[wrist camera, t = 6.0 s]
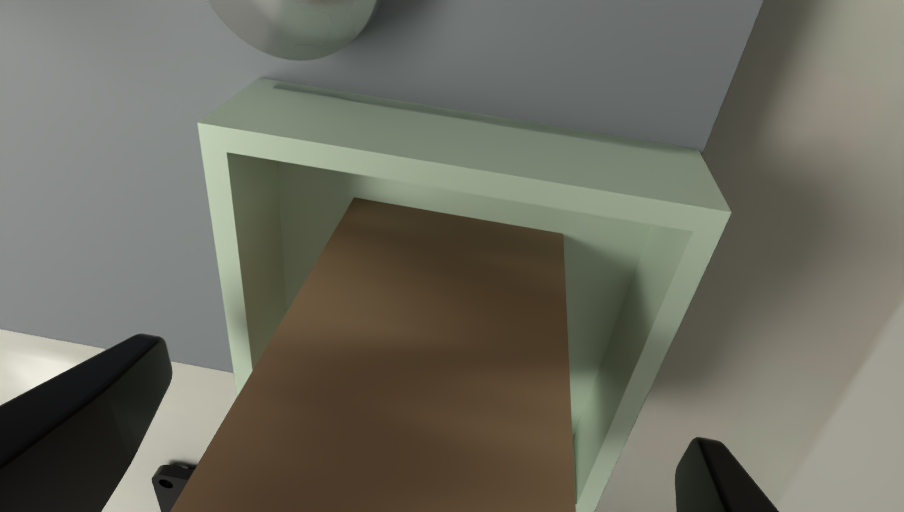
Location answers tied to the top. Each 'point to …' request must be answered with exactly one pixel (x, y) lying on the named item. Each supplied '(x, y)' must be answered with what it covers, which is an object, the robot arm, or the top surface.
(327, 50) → the crank
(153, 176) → the plate
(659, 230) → the tray
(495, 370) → the block
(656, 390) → the top surface
